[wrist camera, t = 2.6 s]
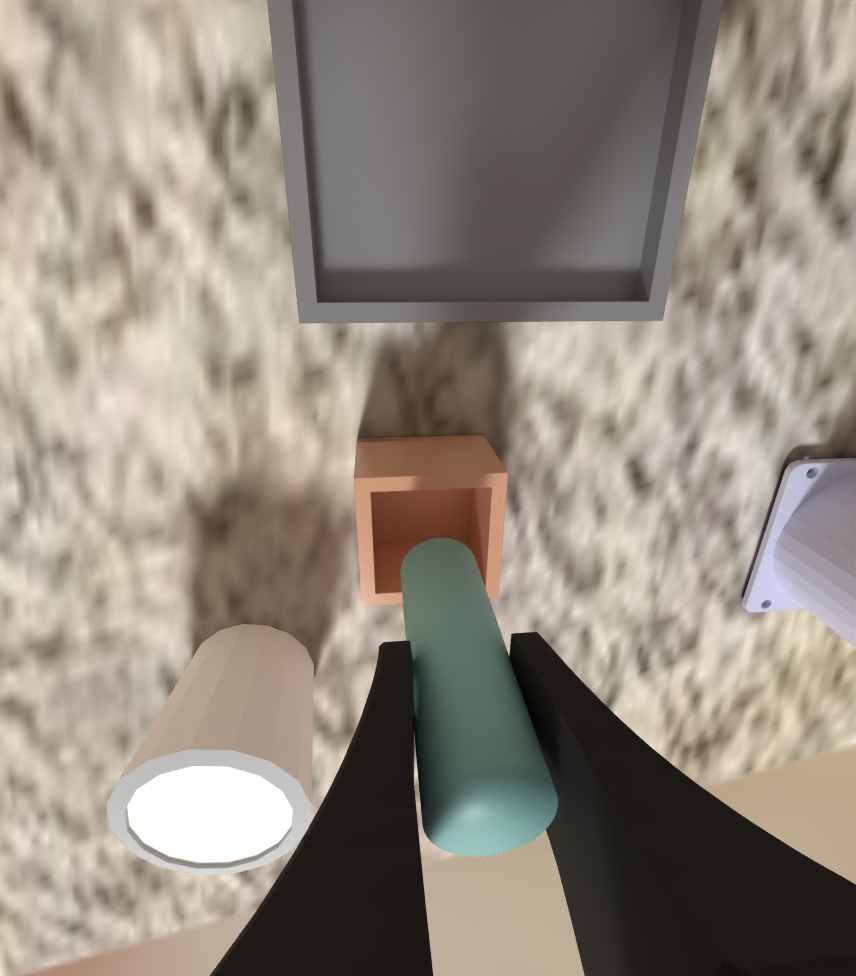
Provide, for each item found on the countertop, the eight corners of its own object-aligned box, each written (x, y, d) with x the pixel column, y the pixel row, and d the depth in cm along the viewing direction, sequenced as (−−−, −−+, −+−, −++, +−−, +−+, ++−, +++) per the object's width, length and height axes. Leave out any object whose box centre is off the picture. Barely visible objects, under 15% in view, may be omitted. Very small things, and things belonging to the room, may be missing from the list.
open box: (483, 434, 20) (507, 472, 16) (477, 542, 22) (498, 598, 18) (357, 438, 19) (353, 478, 16) (363, 548, 21) (362, 606, 18)
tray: (694, -49, 14) (741, -95, 13) (633, 315, 18) (662, 320, 17) (270, -79, 13) (254, -133, 11) (306, 316, 17) (299, 323, 16)
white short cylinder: (161, 620, 22) (75, 765, 16) (317, 605, 22) (296, 740, 16) (196, 729, 25) (136, 890, 18) (335, 714, 25) (323, 865, 19)
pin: (478, 536, 15) (566, 760, 8) (475, 600, 16) (550, 848, 9) (399, 539, 15) (422, 774, 8) (401, 605, 16) (421, 863, 9)
